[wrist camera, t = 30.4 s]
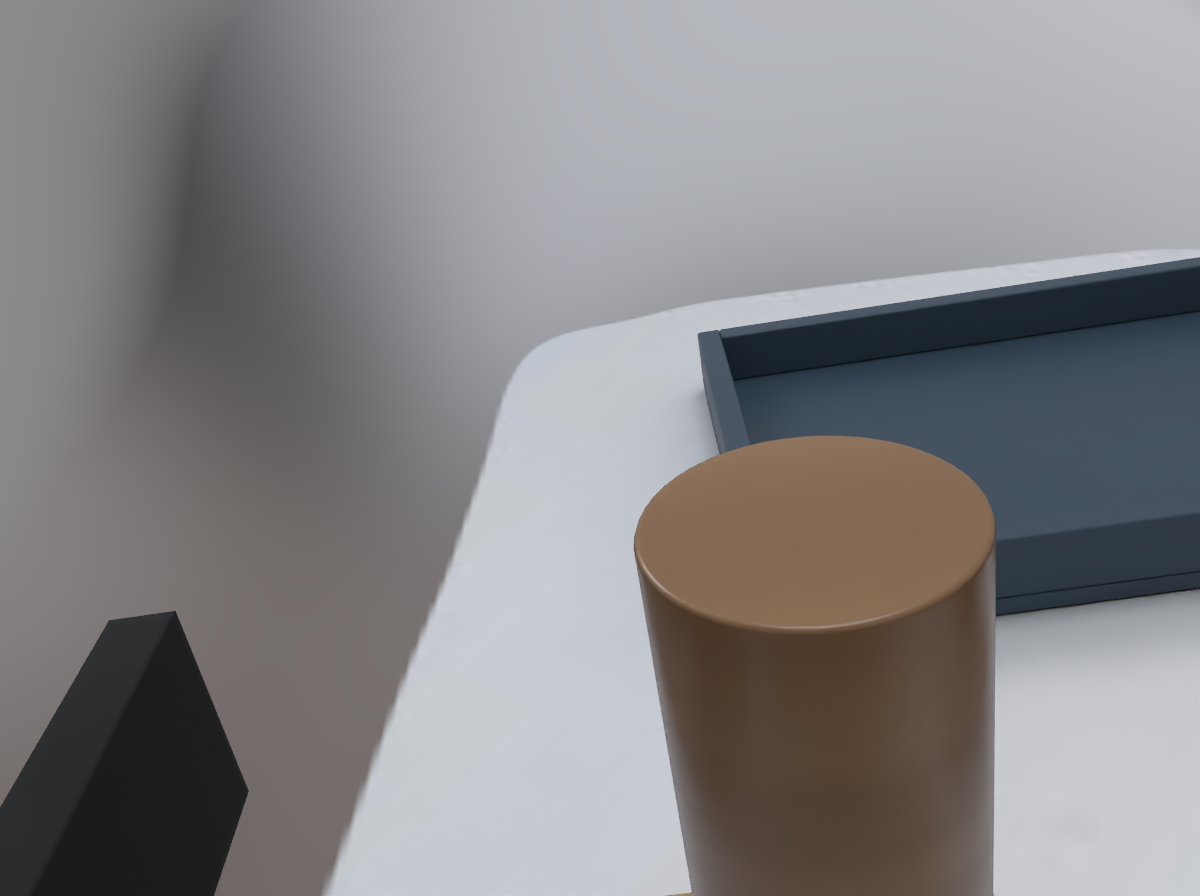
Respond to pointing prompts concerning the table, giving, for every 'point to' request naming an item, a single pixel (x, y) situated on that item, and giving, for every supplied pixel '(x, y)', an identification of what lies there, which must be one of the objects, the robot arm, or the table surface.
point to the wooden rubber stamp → (826, 668)
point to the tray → (1010, 415)
